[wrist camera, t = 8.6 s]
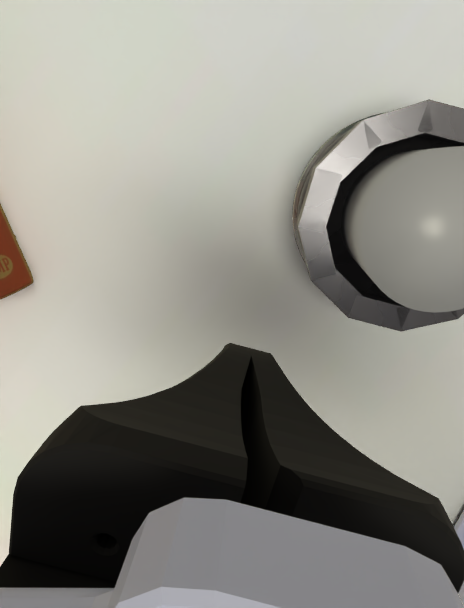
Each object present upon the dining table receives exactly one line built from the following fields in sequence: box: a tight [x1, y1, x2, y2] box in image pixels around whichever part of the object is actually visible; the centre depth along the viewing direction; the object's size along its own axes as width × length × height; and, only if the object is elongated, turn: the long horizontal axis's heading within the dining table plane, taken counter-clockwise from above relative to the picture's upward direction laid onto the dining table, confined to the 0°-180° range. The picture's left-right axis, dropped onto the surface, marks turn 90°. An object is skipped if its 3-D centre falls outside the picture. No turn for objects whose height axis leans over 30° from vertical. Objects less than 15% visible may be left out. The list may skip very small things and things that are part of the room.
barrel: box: [292, 100, 464, 331], centre depth 18 cm, size 8×8×5 cm
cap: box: [341, 146, 464, 313], centre depth 14 cm, size 5×5×4 cm
